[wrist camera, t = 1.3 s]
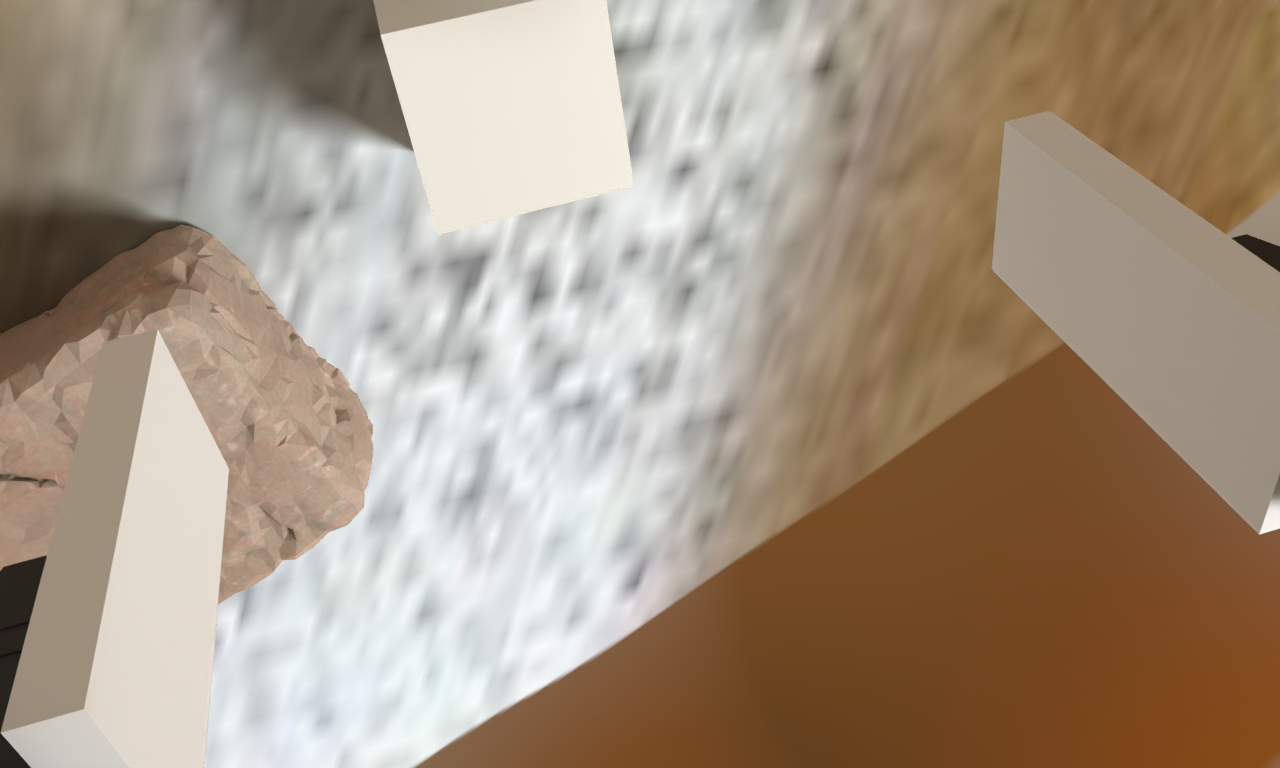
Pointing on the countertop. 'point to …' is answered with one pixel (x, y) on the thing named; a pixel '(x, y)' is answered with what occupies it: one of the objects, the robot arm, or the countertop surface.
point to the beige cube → (507, 103)
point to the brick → (221, 387)
